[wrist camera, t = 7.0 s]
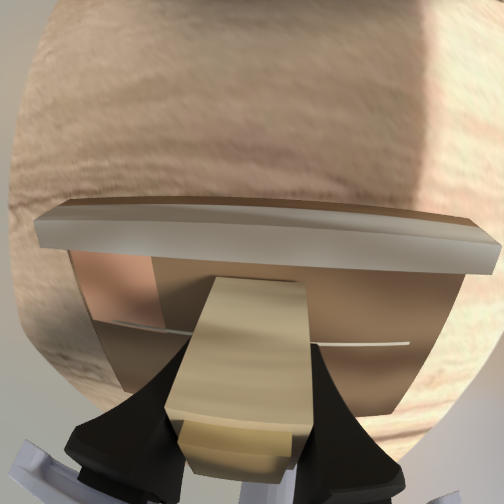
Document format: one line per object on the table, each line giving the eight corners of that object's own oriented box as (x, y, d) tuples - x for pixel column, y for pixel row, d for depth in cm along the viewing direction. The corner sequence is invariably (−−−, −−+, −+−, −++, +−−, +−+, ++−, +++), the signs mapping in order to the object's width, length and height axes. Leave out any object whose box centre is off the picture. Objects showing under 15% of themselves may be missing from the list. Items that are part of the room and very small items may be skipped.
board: (388, 402, 19) (395, 434, 16) (129, 381, 21) (115, 409, 18) (469, 218, 12) (502, 245, 9) (69, 199, 14) (33, 220, 11)
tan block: (296, 346, 14) (292, 487, 7) (220, 340, 15) (182, 474, 8) (305, 282, 12) (313, 450, 6) (216, 276, 13) (155, 430, 6)
